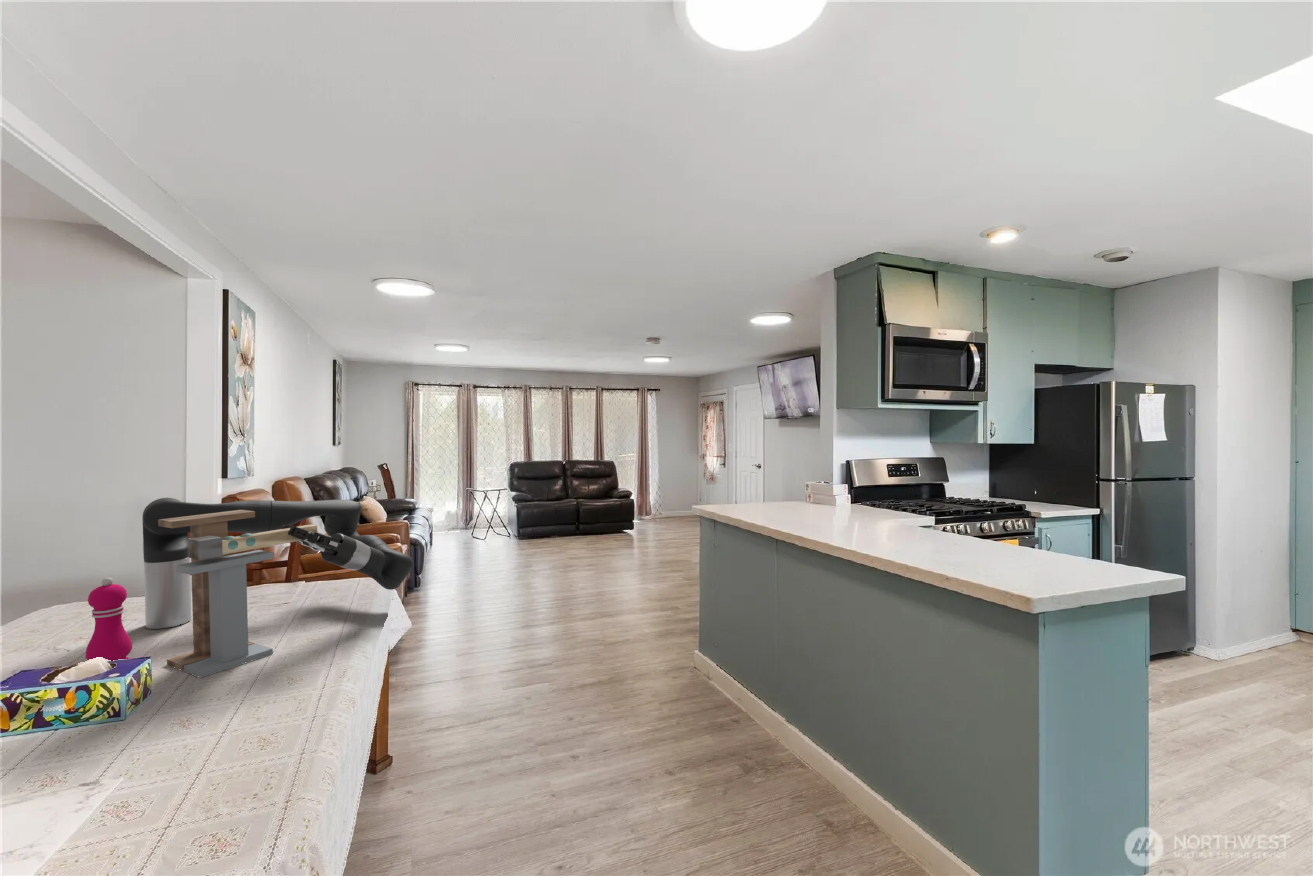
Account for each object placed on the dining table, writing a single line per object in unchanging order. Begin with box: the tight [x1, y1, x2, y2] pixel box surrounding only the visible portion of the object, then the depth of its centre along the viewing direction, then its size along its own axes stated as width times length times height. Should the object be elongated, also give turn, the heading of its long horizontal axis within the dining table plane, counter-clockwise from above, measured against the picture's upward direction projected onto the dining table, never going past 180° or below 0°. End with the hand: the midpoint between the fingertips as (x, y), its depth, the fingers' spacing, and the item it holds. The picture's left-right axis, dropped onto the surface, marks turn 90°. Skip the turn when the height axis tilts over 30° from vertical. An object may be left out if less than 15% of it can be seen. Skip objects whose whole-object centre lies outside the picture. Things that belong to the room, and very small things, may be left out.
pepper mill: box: [85, 577, 133, 661], centre depth 121 cm, size 7×7×20 cm
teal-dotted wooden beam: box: [188, 524, 318, 560], centre depth 130 cm, size 5×25×4 cm, turn 152°
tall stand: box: [158, 510, 255, 671], centre depth 128 cm, size 7×16×32 cm, turn 152°
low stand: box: [176, 549, 275, 679], centre depth 125 cm, size 7×16×23 cm, turn 152°
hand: (286, 529), depth 135 cm, fingers closed on teal-dotted wooden beam, 3 cm apart
